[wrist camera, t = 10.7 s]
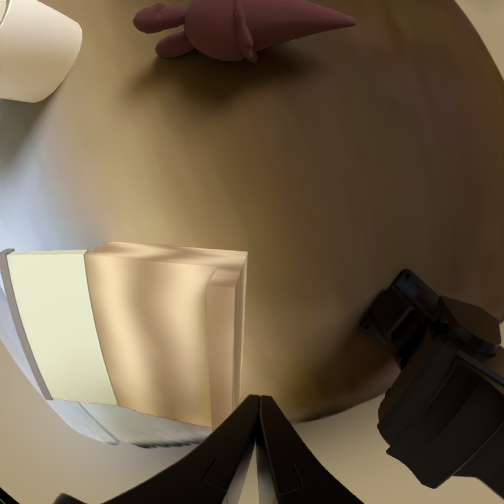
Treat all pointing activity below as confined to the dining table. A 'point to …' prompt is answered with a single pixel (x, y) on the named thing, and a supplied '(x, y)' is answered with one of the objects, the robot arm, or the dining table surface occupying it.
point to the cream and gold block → (171, 327)
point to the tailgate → (57, 323)
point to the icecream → (236, 26)
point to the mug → (35, 49)
